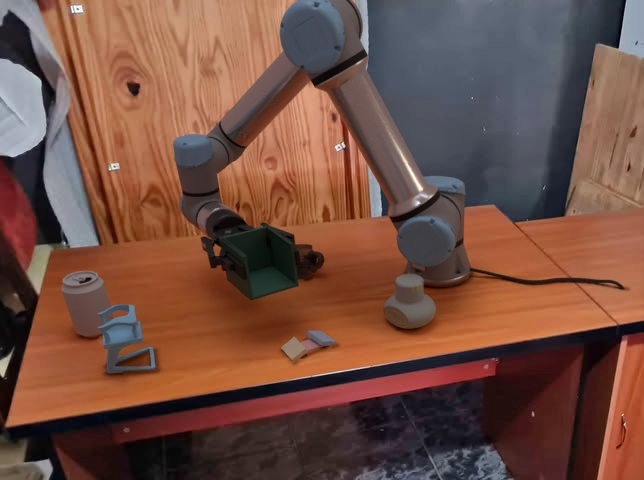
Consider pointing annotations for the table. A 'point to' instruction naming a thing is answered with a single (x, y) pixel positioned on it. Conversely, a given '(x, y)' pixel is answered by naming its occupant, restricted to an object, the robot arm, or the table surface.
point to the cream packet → (294, 349)
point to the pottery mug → (308, 261)
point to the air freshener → (409, 303)
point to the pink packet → (311, 345)
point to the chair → (122, 338)
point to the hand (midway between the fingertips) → (271, 265)
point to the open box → (262, 262)
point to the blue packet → (321, 338)
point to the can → (86, 301)
